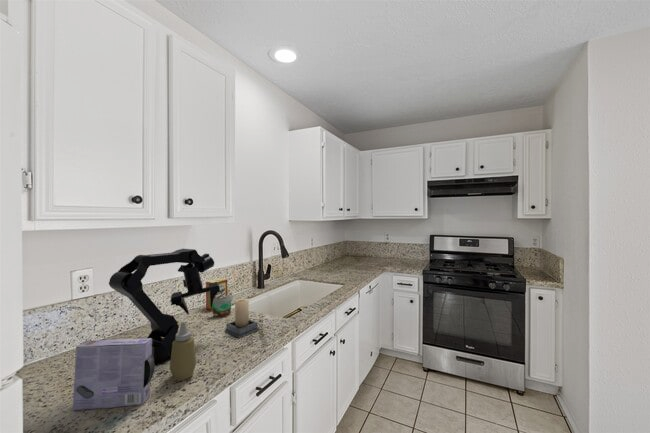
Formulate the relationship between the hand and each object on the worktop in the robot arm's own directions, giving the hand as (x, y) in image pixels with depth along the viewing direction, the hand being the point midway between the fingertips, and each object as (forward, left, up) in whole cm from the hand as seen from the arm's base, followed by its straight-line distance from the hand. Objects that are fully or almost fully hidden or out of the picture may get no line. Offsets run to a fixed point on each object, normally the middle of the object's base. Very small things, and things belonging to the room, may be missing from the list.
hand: (200, 310), depth 120 cm
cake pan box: (-36, -20, -13) cm, 42 cm away
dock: (+17, -7, -13) cm, 22 cm away
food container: (+23, +17, -13) cm, 31 cm away
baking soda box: (+27, +31, -13) cm, 43 cm away
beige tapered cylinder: (+17, -7, -11) cm, 21 cm away
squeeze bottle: (-17, -22, -13) cm, 30 cm away
